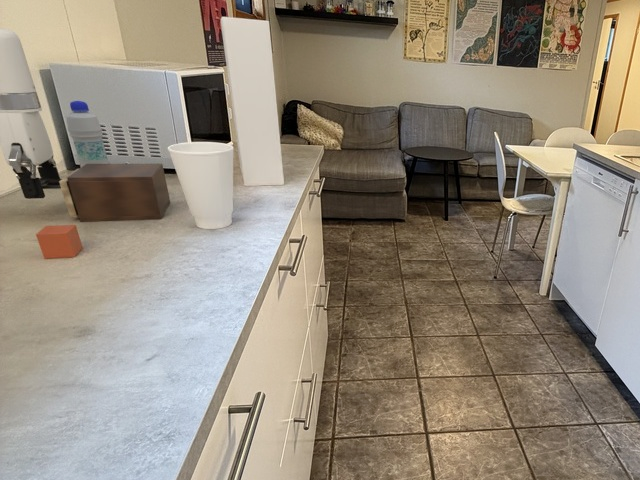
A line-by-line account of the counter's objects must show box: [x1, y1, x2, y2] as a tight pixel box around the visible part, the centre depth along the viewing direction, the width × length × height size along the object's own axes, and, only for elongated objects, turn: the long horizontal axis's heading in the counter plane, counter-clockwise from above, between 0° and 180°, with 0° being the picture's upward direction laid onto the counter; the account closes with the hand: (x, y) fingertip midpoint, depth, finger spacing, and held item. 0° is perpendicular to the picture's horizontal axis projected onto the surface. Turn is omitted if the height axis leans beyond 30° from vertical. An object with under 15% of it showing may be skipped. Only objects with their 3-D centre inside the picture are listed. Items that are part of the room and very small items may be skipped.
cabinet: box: [67, 163, 171, 223], centre depth 102 cm, size 15×13×9 cm
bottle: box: [65, 100, 110, 168], centre depth 116 cm, size 7×7×20 cm
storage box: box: [219, 16, 285, 187], centre depth 130 cm, size 21×10×40 cm, turn 24°
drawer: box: [38, 168, 79, 218], centre depth 100 cm, size 20×11×7 cm, turn 110°
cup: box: [167, 141, 235, 230], centre depth 97 cm, size 12×12×16 cm
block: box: [35, 224, 84, 259], centre depth 82 cm, size 4×4×4 cm
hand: (44, 191), depth 97 cm, fingers open, 9 cm apart
